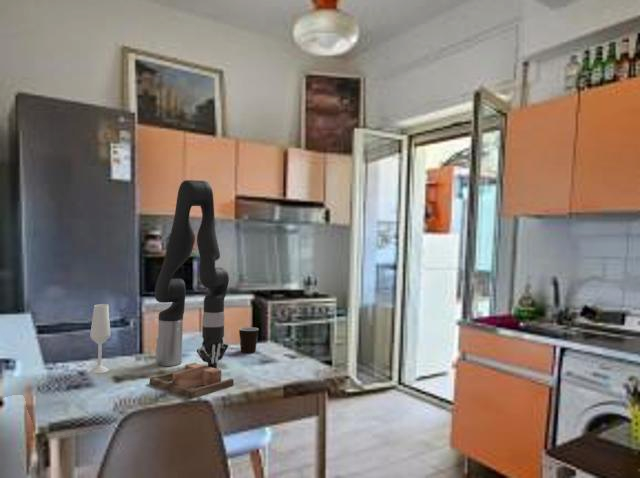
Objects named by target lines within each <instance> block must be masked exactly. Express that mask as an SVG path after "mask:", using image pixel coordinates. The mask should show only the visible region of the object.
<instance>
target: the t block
mask: <svg viewBox="0 0 640 478" xmlns="http://www.w3.org/2000/svg"><path fill="white" fill-rule="evenodd" d="M182 370H183V371H180V370H178V371H179V372H176V371H175V372H176V373H173V379H172V382H171V383H173V384H176V385H179V386H182V387H185V388H188V389H191V388H195V387H198V386H207V385H211V384H214V383H218V382H221V381H222V369H219V368H217V369H216V368H212V367H208V365H204V364H200V363H197V362H193V363H188V364H185V370H184V369H182Z"/></svg>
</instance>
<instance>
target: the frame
mask: <svg viewBox="0 0 640 478" xmlns="http://www.w3.org/2000/svg"><path fill="white" fill-rule="evenodd" d="M183 370H185V369H181V370H176V371H173V372H172V371H171V372H168V373H164V374H160V375H156V376H151V377H149V385H152V386H154V387H157V388H161V389H163V390H166V391H169V392H171V393H174V394H177V395H180V396H183V397H186V398H189V399H195V398H198V397H202V396H203V395H204V396H205V395H207V394H210V393H213V392H217V391H220V390H223V389H227V388H230V387H233V386H234V379H233V378H229V379H224V380H221V382H218V383H214V384H211V385H207V386H205V385H203V386H201V387H197V388H195V389H194V388H193V389H191V388H189V389H188V388H185V387H182V386H179V385H176V384H173V383H172V382H170V381H173V373H176V372H179V371H183Z"/></svg>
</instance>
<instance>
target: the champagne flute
mask: <svg viewBox="0 0 640 478" xmlns="http://www.w3.org/2000/svg"><path fill="white" fill-rule="evenodd" d="M109 308H110V307H109V304H106V303H100V304H94V306H93V311H92V312H93V313H92V317H91V318H92V320H91V328H90V336H89V337H90V339H91V340H92V341H93V342H94V343H95V344H97V345H98V347H97V365H96V366H95V367H93V368H91V369H90V370H89V371H88V373H90V374H102V373H106V372H108V371H110V369H109V368H107V367H105V366H103V365H102V355H103V354H102V350H103V349H102V348H103V346H102V345H103V344H104V343H105V342H106V341H108V339H109V338H110V337H111V326H110V325H111V324H110V309H109Z"/></svg>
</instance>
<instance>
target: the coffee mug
mask: <svg viewBox="0 0 640 478" xmlns="http://www.w3.org/2000/svg"><path fill="white" fill-rule="evenodd" d="M238 330H239V331H238V334H239V345H240V346H239V347H240V352H241V353H242V354H255V353H256V351H257V344H258V336H259V328H258V327H250V326H248V327H247V326H246V327H240V328H238Z"/></svg>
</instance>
